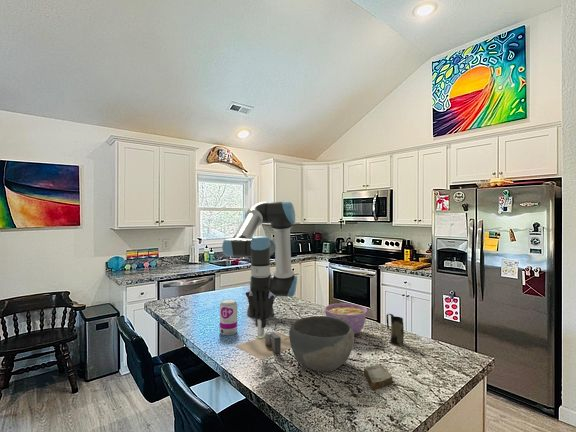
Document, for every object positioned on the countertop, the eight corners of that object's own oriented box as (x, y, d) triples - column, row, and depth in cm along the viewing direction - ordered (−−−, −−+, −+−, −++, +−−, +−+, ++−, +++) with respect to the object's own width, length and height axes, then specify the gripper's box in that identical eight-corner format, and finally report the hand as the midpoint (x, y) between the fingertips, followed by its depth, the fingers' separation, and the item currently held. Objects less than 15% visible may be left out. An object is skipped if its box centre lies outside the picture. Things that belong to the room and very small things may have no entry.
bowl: (338, 389, 107) (338, 342, 107) (276, 370, 120) (276, 328, 120) (364, 360, 127) (364, 321, 127) (308, 347, 140) (308, 312, 140)
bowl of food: (371, 329, 162) (371, 306, 162) (362, 344, 144) (362, 317, 144) (331, 323, 170) (331, 301, 170) (318, 336, 152) (318, 311, 152)
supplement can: (233, 336, 153) (233, 304, 153) (217, 335, 155) (217, 303, 155) (239, 330, 161) (239, 299, 161) (223, 329, 163) (223, 298, 162)
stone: (360, 370, 120) (360, 361, 120) (383, 369, 121) (383, 361, 121) (371, 391, 106) (371, 382, 106) (397, 391, 106) (397, 382, 106)
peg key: (258, 335, 150) (258, 321, 150) (268, 334, 151) (268, 320, 151) (272, 354, 130) (272, 338, 130) (282, 352, 131) (282, 337, 131)
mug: (406, 344, 144) (406, 316, 144) (398, 347, 141) (398, 318, 141) (391, 338, 150) (391, 312, 150) (383, 341, 147) (383, 314, 147)
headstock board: (274, 333, 157) (274, 330, 156) (305, 345, 142) (305, 342, 142) (231, 347, 140) (231, 344, 140) (261, 362, 125) (261, 358, 125)
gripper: (241, 276, 129) (241, 335, 130) (270, 279, 123) (270, 341, 124) (251, 272, 136) (252, 329, 137) (279, 275, 130) (280, 334, 131)
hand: (260, 335), depth 130 cm, fingers closed
